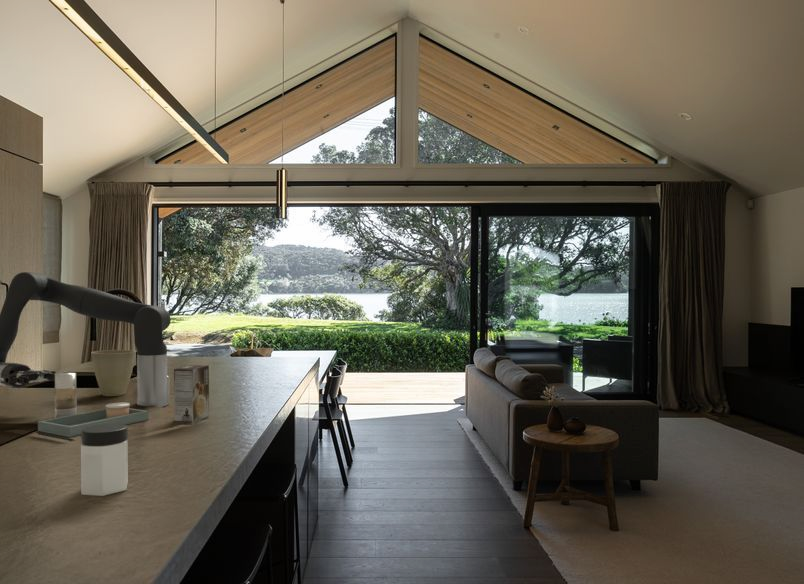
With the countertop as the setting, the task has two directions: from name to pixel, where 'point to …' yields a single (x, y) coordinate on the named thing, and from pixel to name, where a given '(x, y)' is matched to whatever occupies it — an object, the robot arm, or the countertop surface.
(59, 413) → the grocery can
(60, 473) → the countertop surface
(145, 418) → the tray
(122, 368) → the plant pot
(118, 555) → the countertop surface
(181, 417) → the coffee box
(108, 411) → the small lidded tub
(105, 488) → the jar
